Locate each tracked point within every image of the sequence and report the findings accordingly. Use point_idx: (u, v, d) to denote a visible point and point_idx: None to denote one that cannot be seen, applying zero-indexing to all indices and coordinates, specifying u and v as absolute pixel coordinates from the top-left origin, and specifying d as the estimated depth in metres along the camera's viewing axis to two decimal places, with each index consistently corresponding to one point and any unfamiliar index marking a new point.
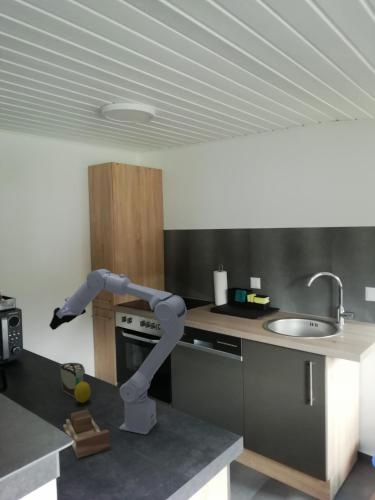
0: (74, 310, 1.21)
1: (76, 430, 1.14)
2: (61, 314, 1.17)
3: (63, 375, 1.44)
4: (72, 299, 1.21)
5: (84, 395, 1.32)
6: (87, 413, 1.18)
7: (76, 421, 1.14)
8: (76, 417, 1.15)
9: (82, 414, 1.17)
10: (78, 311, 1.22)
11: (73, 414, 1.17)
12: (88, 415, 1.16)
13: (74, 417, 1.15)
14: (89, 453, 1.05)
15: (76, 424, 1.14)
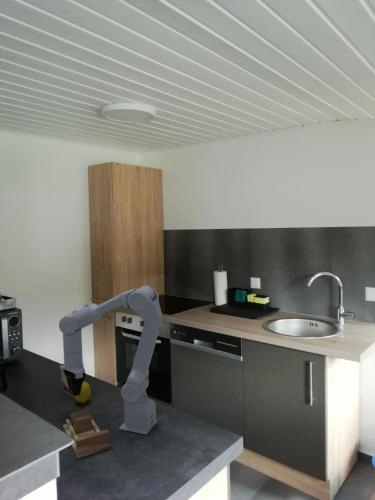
0: (79, 364, 1.21)
1: (76, 430, 1.14)
2: (80, 373, 1.16)
3: (63, 375, 1.44)
4: (70, 359, 1.19)
5: (84, 395, 1.32)
6: (87, 413, 1.18)
7: (76, 421, 1.14)
8: (76, 417, 1.15)
9: (82, 414, 1.17)
10: (82, 362, 1.22)
11: (73, 414, 1.17)
12: (88, 415, 1.16)
13: (74, 417, 1.15)
14: (89, 453, 1.05)
15: (76, 424, 1.14)
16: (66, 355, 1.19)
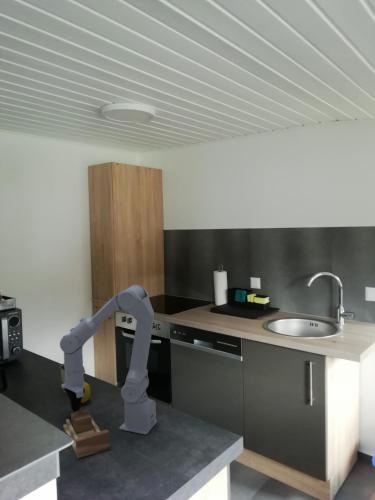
0: (80, 382, 1.21)
1: (76, 430, 1.14)
2: (81, 392, 1.16)
3: (63, 375, 1.44)
4: (71, 378, 1.19)
5: (84, 395, 1.32)
6: (87, 413, 1.18)
7: (76, 421, 1.14)
8: (76, 417, 1.15)
9: (82, 414, 1.17)
10: (83, 380, 1.22)
11: (73, 414, 1.17)
12: (88, 415, 1.16)
13: (74, 417, 1.15)
14: (89, 453, 1.05)
15: (76, 424, 1.14)
16: (67, 374, 1.20)
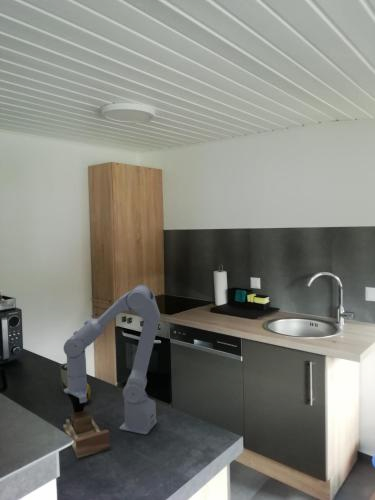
0: (84, 387, 1.18)
1: (76, 430, 1.14)
2: (85, 397, 1.13)
3: (63, 375, 1.44)
4: (74, 382, 1.16)
5: None
6: (87, 413, 1.17)
7: (76, 421, 1.13)
8: (76, 417, 1.15)
9: (82, 414, 1.17)
10: (86, 384, 1.19)
11: (73, 414, 1.17)
12: (88, 415, 1.16)
13: (74, 417, 1.15)
14: (89, 453, 1.05)
15: (76, 424, 1.13)
16: (70, 378, 1.16)
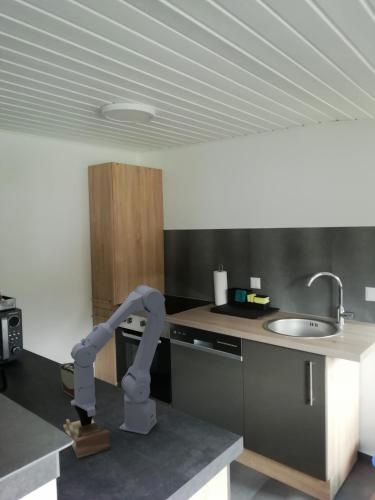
0: (92, 399, 1.10)
1: None
2: (93, 410, 1.05)
3: (63, 375, 1.44)
4: (81, 394, 1.08)
5: None
6: (95, 427, 1.10)
7: None
8: (84, 431, 1.07)
9: (90, 428, 1.09)
10: (94, 396, 1.11)
11: (80, 428, 1.09)
12: (97, 429, 1.08)
13: (82, 431, 1.07)
14: (89, 453, 1.05)
15: None
16: (77, 389, 1.08)
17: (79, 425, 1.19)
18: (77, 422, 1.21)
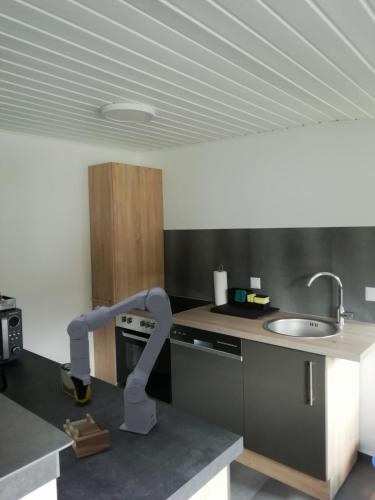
0: (87, 369, 1.16)
1: None
2: (88, 379, 1.11)
3: (63, 375, 1.44)
4: (77, 365, 1.14)
5: None
6: (95, 427, 1.10)
7: None
8: (84, 431, 1.07)
9: (90, 427, 1.09)
10: (89, 367, 1.17)
11: (80, 428, 1.09)
12: (97, 429, 1.08)
13: (82, 431, 1.07)
14: (89, 453, 1.05)
15: None
16: (73, 361, 1.14)
17: (79, 425, 1.19)
18: (77, 422, 1.21)
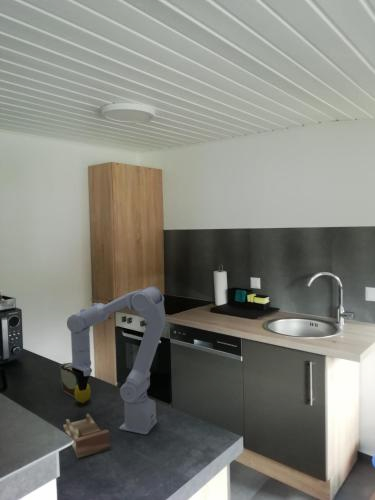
0: (87, 362, 1.22)
1: None
2: (89, 370, 1.18)
3: (63, 375, 1.44)
4: (78, 357, 1.21)
5: (84, 395, 1.32)
6: (95, 427, 1.10)
7: None
8: (84, 431, 1.07)
9: (90, 427, 1.09)
10: (89, 360, 1.24)
11: (80, 428, 1.09)
12: (97, 429, 1.08)
13: (82, 431, 1.07)
14: (89, 453, 1.05)
15: None
16: (74, 353, 1.21)
17: (79, 425, 1.19)
18: (77, 422, 1.21)
